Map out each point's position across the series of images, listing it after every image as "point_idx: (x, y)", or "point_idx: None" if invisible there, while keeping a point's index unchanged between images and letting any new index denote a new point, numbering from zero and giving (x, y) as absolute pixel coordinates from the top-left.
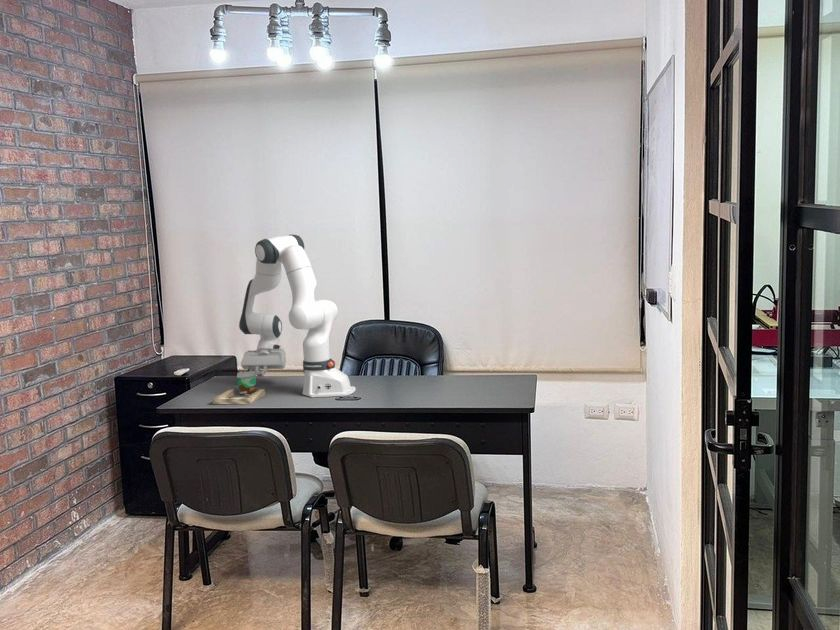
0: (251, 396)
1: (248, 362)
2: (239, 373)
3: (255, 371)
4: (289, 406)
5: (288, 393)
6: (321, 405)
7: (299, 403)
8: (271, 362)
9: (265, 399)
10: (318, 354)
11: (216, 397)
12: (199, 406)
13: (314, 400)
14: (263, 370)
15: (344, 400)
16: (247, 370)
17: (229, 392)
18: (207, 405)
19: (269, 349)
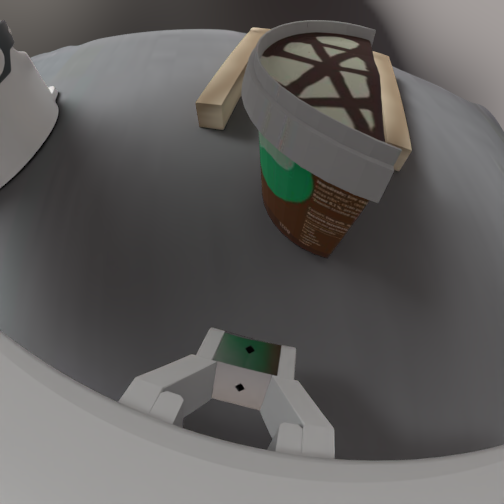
0: (247, 37)
1: (488, 487)
2: (359, 29)
3: (253, 52)
4: (137, 37)
5: (92, 138)
6: (73, 51)
7: (106, 53)
8: (6, 378)
9: (197, 75)
10: None
11: (384, 62)
12: (413, 77)
13: (64, 75)
14: (191, 365)
15: None
16: (371, 121)
17: (382, 109)
18: (396, 75)
19: None
